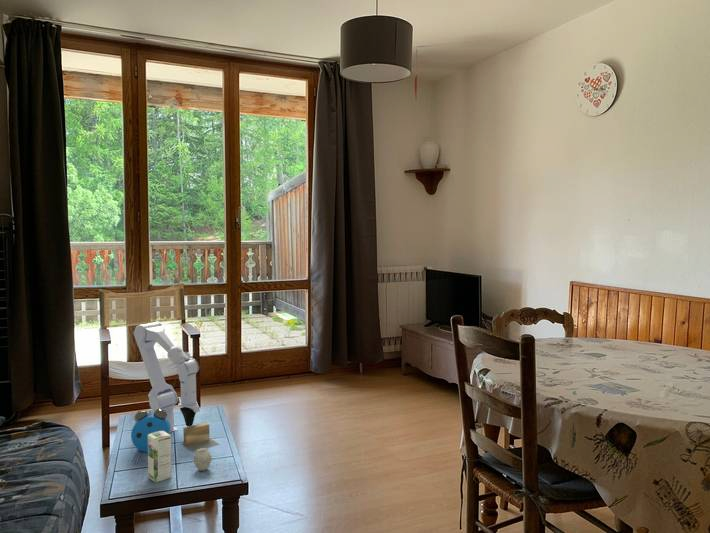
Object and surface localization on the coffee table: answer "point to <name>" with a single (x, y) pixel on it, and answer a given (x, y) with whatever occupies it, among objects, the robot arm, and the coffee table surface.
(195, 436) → the oak slab
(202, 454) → the beige rounded lump
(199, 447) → the rubber mat
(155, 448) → the syrup box
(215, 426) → the coffee table surface
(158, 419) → the alarm clock
